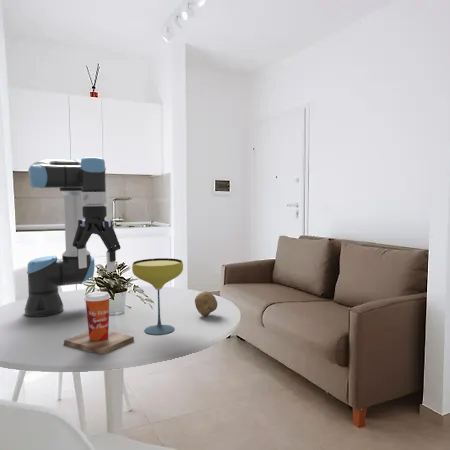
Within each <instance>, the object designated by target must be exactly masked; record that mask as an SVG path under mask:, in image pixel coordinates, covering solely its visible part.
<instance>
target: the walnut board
mask: <svg viewBox="0 0 450 450" xmlns="http://www.w3.org/2000/svg"><path fill="white" fill-rule="evenodd" d="M132 342H135V337H134V336H133V335H129V334H124V333H120V332H117V331H116V332H115V331H111V330H108V338H107V339H105V340H102V341H91V340H90V338H89V330H88V331H85V332H82V333H80V334H76V335H74V336H71V337H68V338H66V339H63V345H64V346H68V347H73V348H76V349H80V350H83V351H86V352H90V353H94V354H98V355H101V356H102V355H104V354H107V353H109V352H111V351H113V350H116V349H118V348H120V347H123V346H125V345H128V344H130V343H132Z"/></svg>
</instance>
